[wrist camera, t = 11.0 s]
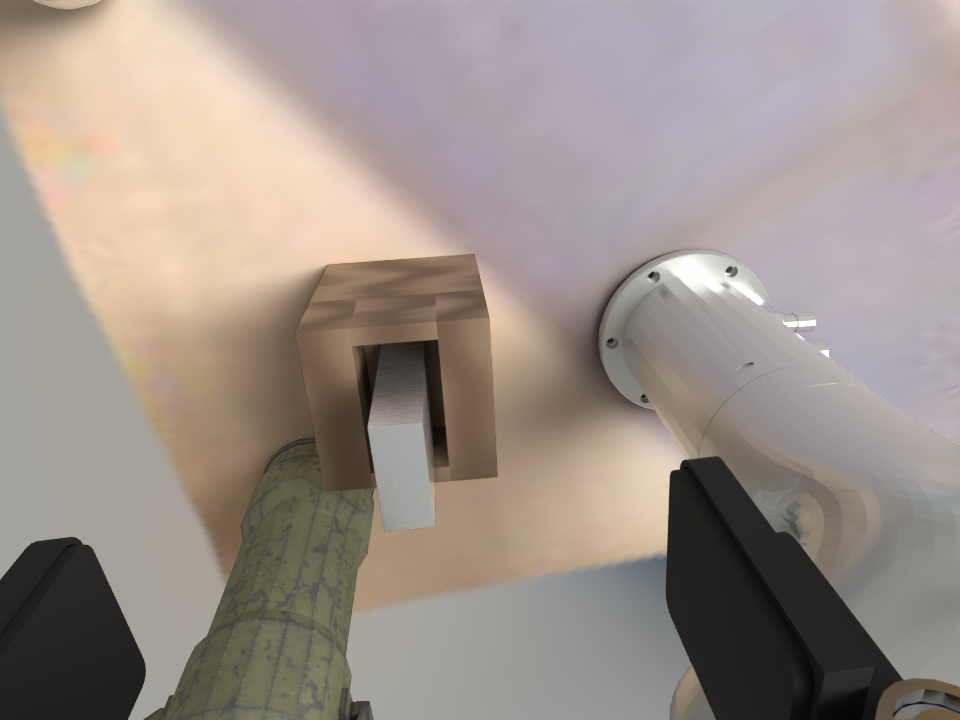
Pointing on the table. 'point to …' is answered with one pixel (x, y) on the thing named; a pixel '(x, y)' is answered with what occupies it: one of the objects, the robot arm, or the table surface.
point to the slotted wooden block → (392, 319)
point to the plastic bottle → (67, 3)
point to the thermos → (284, 605)
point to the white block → (403, 437)
